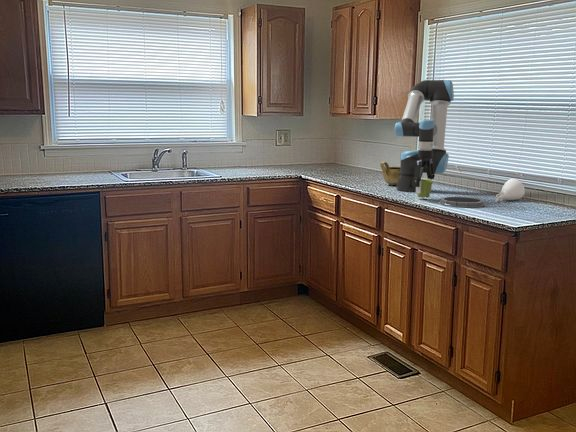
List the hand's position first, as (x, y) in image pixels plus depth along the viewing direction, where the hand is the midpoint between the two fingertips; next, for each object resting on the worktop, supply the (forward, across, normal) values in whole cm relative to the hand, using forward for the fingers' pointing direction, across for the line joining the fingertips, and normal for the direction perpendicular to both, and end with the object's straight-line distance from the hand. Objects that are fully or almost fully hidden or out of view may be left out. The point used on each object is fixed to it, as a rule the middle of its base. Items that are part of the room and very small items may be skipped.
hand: (423, 192), depth 313 cm
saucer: (+4, +1, -22) cm, 23 cm away
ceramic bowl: (+5, +36, +43) cm, 56 cm away
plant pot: (+3, 0, 0) cm, 3 cm away
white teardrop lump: (+5, +29, -31) cm, 43 cm away
